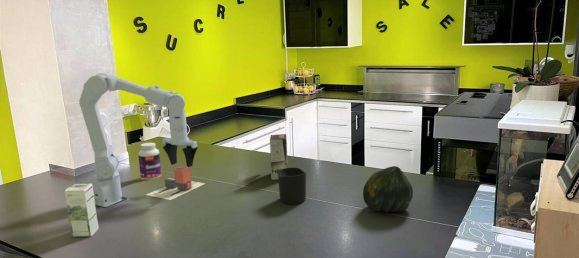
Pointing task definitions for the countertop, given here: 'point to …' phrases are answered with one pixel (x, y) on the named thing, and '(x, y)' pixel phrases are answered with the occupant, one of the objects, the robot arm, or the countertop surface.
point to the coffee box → (278, 154)
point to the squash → (388, 190)
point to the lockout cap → (182, 174)
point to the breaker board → (172, 191)
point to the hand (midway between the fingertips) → (181, 165)
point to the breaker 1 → (170, 183)
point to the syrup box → (81, 210)
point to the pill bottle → (149, 161)
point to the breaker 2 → (184, 186)
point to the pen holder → (292, 185)
